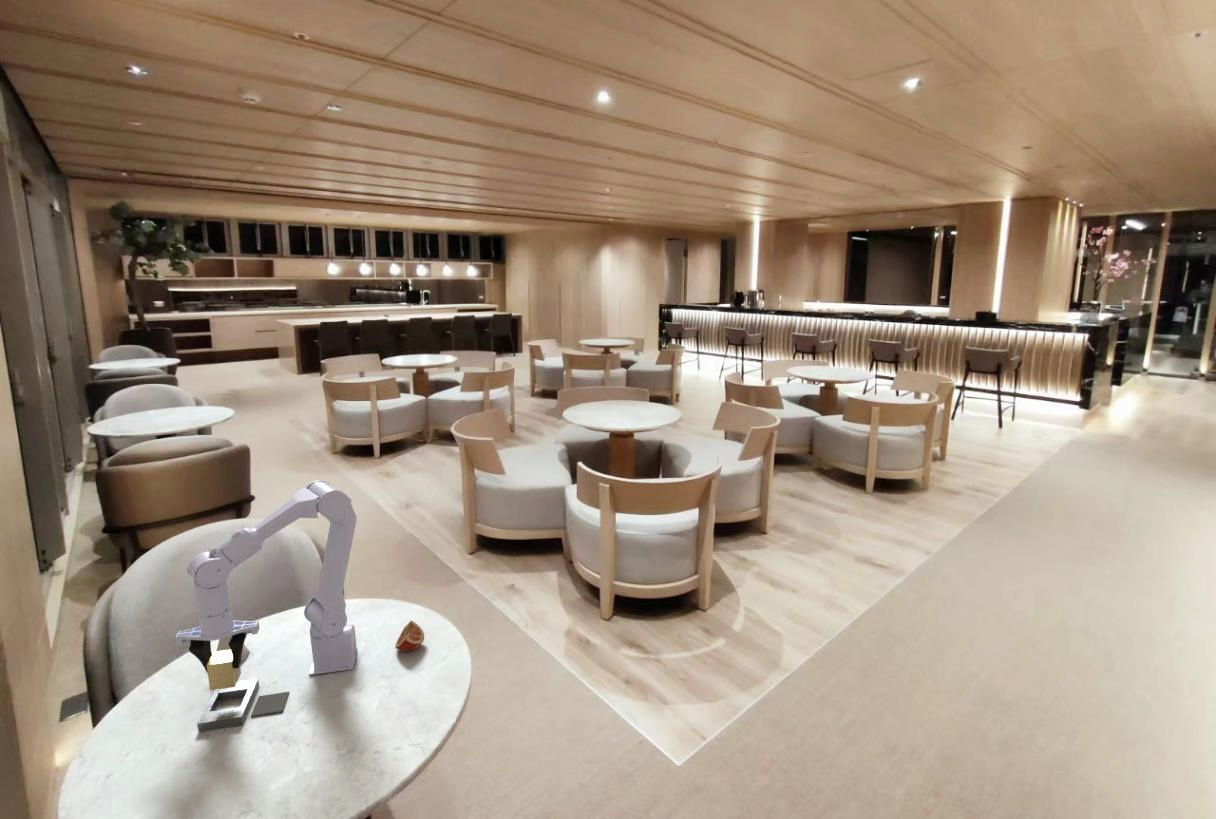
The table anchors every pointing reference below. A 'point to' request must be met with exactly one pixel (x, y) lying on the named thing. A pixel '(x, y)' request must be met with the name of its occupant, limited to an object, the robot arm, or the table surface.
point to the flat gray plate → (270, 704)
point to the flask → (224, 645)
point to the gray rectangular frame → (233, 715)
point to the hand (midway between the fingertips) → (224, 667)
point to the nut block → (222, 670)
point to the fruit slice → (410, 637)
